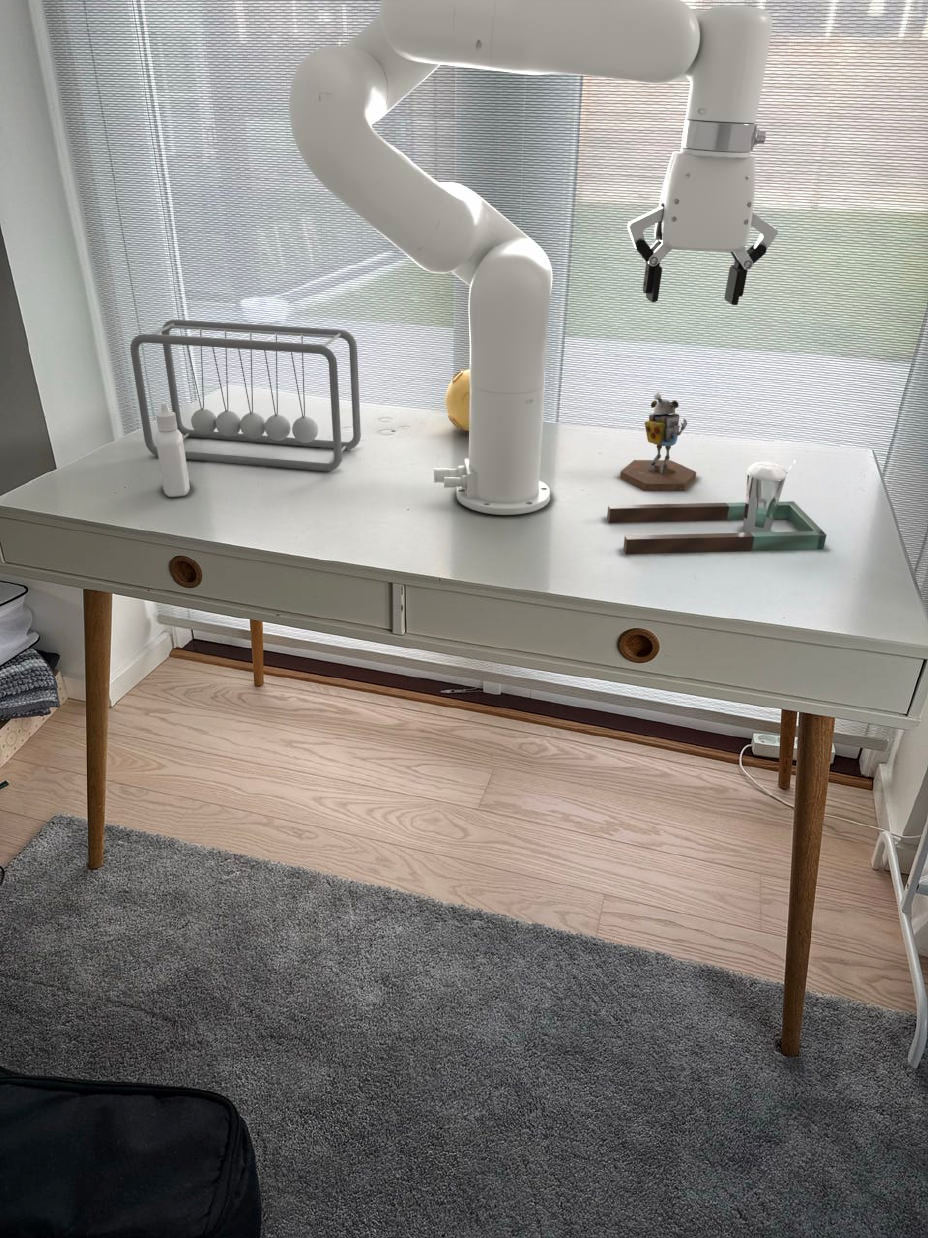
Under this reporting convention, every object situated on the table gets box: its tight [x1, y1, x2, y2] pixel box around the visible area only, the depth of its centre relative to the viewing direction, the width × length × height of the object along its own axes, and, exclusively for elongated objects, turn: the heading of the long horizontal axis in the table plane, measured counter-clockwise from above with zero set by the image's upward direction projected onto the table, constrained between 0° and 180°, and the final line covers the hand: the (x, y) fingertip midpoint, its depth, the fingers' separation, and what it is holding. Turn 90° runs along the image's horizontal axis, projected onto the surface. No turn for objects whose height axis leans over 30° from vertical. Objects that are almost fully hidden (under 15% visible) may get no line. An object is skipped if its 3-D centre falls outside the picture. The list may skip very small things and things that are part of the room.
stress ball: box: [445, 368, 470, 432], centre depth 150 cm, size 10×10×10 cm
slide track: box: [606, 500, 827, 555], centre depth 118 cm, size 24×10×2 cm, turn 95°
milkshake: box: [742, 458, 797, 533], centre depth 117 cm, size 4×5×10 cm
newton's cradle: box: [129, 319, 362, 472], centre depth 137 cm, size 30×10×18 cm, turn 79°
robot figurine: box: [619, 392, 697, 492], centre depth 132 cm, size 11×9×12 cm
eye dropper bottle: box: [155, 402, 191, 498], centre depth 126 cm, size 4×6×12 cm
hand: (691, 301), depth 113 cm, fingers open, 9 cm apart
